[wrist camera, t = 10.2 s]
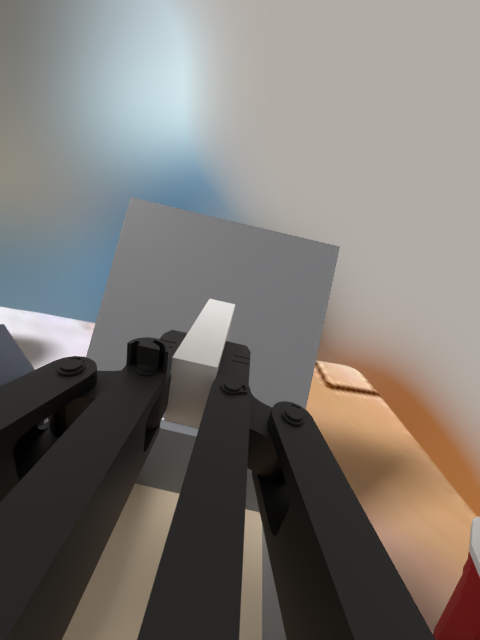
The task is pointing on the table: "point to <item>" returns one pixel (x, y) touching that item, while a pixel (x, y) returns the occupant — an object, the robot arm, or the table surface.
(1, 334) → the small box
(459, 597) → the plastic cup
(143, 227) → the lid
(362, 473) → the table surface
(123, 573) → the grey open rectangular box
